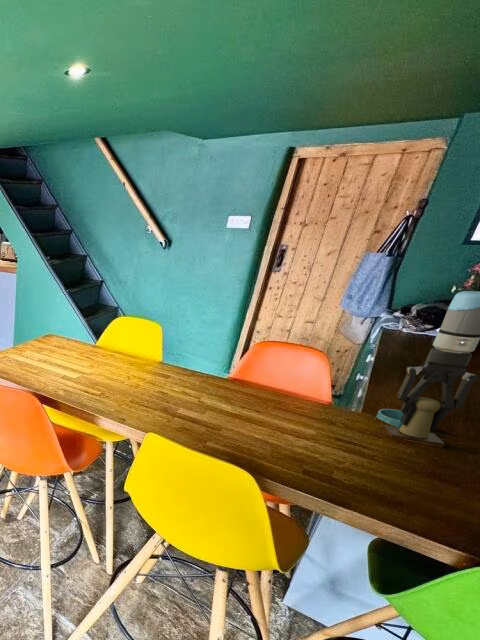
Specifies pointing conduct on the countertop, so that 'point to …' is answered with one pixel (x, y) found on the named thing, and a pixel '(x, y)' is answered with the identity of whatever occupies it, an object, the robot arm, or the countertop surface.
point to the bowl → (390, 417)
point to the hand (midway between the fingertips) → (417, 425)
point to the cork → (421, 418)
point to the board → (396, 433)
